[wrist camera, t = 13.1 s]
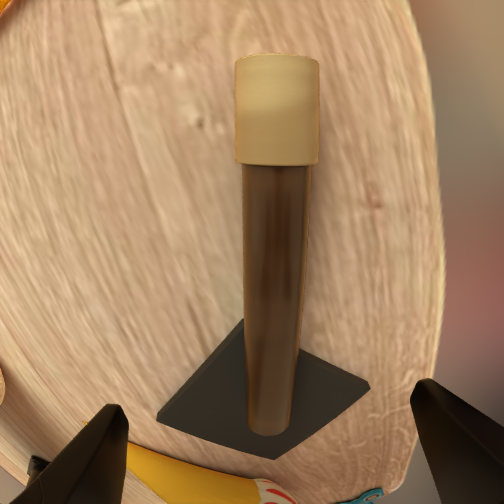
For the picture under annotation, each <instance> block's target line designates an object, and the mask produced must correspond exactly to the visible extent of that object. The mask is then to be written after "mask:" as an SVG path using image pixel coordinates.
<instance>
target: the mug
mask: <svg viewBox="0 0 504 504" xmlns="http://www.w3.org/2000/svg"><path fill="white" fill-rule="evenodd" d="M4 395H5V382H4V378H3V374H2V371H1V369H0V405H1V403H2V401H3V398H4Z"/></svg>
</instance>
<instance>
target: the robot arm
mask: <svg viewBox="0 0 504 504" xmlns="http://www.w3.org/2000/svg"><path fill="white" fill-rule="evenodd" d="M410 405H411V408H412V412H413V416H414V419H415V423H416V427H417V431H418V435H419V439H420V442H421V445H422V448H423V450H424V453H425V456H426V459H427V462H428V464H429V467H430V470H431V473H432V475H433V479H434V482H435V485H436V487H437V491H438V494H439V497H440V500H441V503H442V504H504V427H503V426H501V425H500V424H498V423H496V422H495V421H494V420H492V419H491V418H489V417H488V416H486V415H485V414H483V413H481V412H480V411H479V410H477V409H476V408H474V407H473V406H471V405H469V404H468V403H467V402H465V401H464V400H462V399H461V398H459V397H458V396H456V395H454V394H453V393H452V392H450V391H449V390H447V389H446V388H444V387H443V386H441V385H440V384H438V383H437V382H435V381H434V380H432V379H430V378H426V379H422V380H419V381H418V382H417V383H416V385H415V388H414V390H413V392H412V394H411V397H410ZM128 431H129V423H128V420H127V418H126V415H125V413H124V411H123V409H122V407H121V406H120V405H119V404H106V405H105V406H104V407H103V408H102V409H101V410H100V411H99V412H98V413H97V414H96V415H95V416H94V417H93V418H92V419H91V421H90V422H89V423H88V424H87V425H86V426H85V427H84V428H83V429H82V430H81V431H80V432H79V433H78V434H77V435H76V436H75V437H74V438H73V440H72V441H71V442H70V443H69V444H68V445H67V446H66V447H65V448H64V449H63V450H62V451H61V452H60V453H59V454H58V455H57V456H56V458H55V459H54V460H53V461H52V462H51V463H50V464H49V463H47V462H45V461H43V460H41V459H40V458H38V457H36V456H31V459H30V463H29V467H28V472H27V474H28V475H29V476H30V477H29V480H28V483H27V486H26V489H25V490H24V491H23V492H22V493H21V494H20V495H18V496H17V497H16V498H15V499H14V500H13V501H12V502H10V503H9V504H121V498H122V492H123V486H124V479H125V473H126V464H127V446H128Z"/></svg>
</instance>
